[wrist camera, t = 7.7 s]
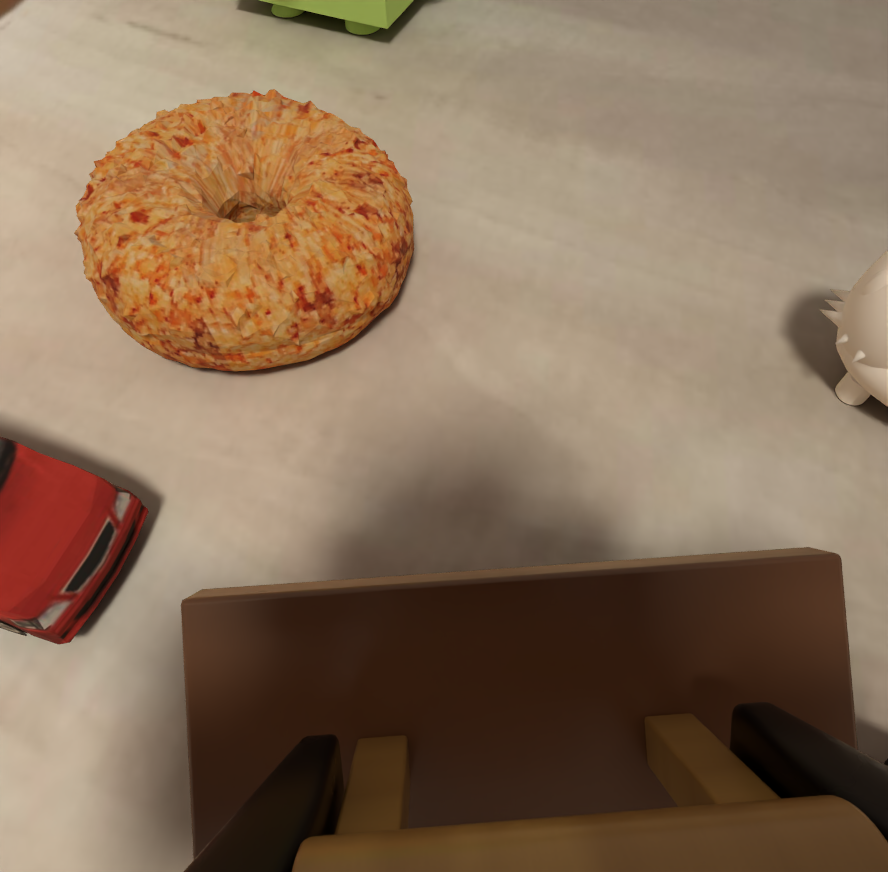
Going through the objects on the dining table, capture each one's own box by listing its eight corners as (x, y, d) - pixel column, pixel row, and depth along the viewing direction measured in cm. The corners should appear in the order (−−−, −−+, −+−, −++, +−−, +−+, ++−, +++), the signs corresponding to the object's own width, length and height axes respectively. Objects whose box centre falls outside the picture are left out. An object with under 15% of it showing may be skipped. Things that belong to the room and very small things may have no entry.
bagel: (85, 410, 24) (7, 317, 20) (135, 177, 31) (85, 73, 27) (432, 375, 25) (428, 279, 21) (403, 156, 32) (395, 51, 28)
